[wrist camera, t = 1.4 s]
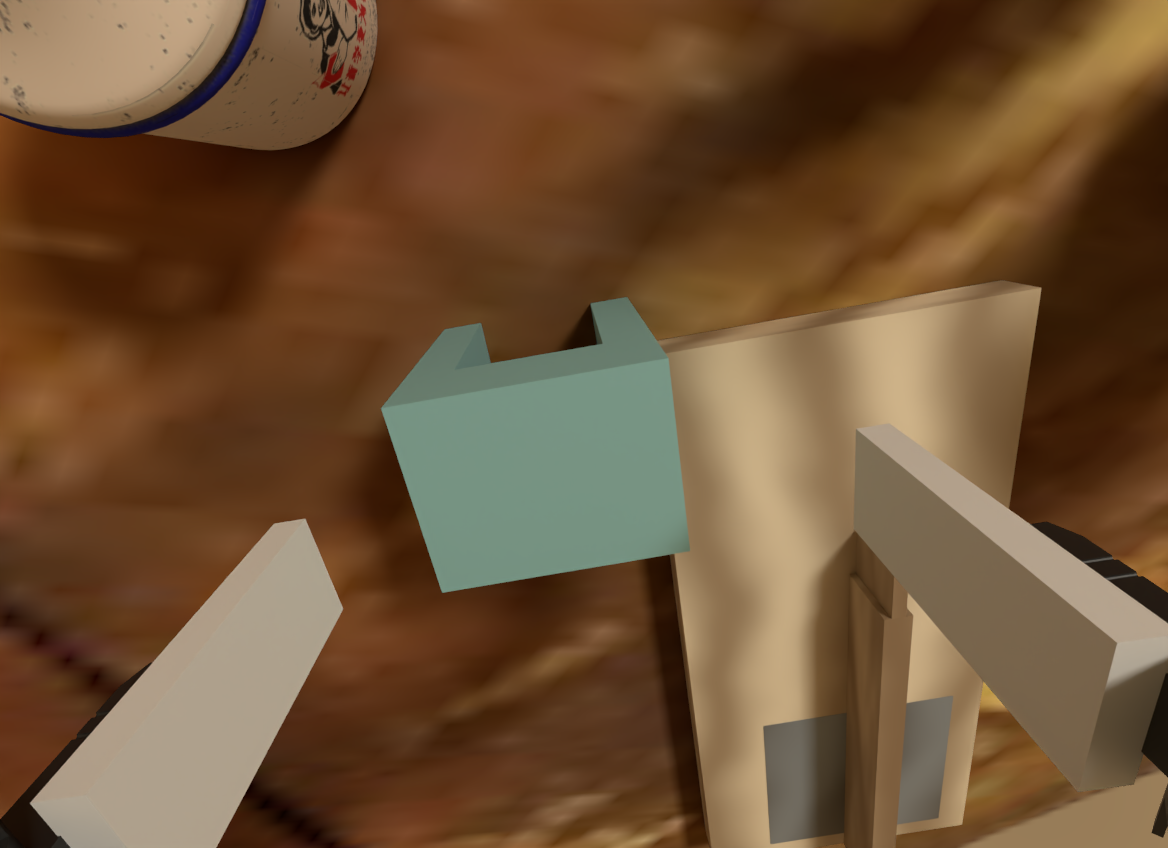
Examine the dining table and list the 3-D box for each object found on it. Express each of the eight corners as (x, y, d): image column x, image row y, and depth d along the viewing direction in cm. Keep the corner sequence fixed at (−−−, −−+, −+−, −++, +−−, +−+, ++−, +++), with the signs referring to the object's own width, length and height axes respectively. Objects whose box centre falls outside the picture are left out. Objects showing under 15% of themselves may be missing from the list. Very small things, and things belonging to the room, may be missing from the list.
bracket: (479, 459, 25) (442, 592, 17) (444, 329, 23) (381, 408, 14) (645, 431, 25) (690, 551, 17) (627, 297, 23) (668, 358, 14)
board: (705, 828, 36) (727, 923, 31) (642, 343, 23) (663, 380, 19) (940, 791, 35) (998, 881, 31) (1002, 280, 23) (1114, 302, 18)
